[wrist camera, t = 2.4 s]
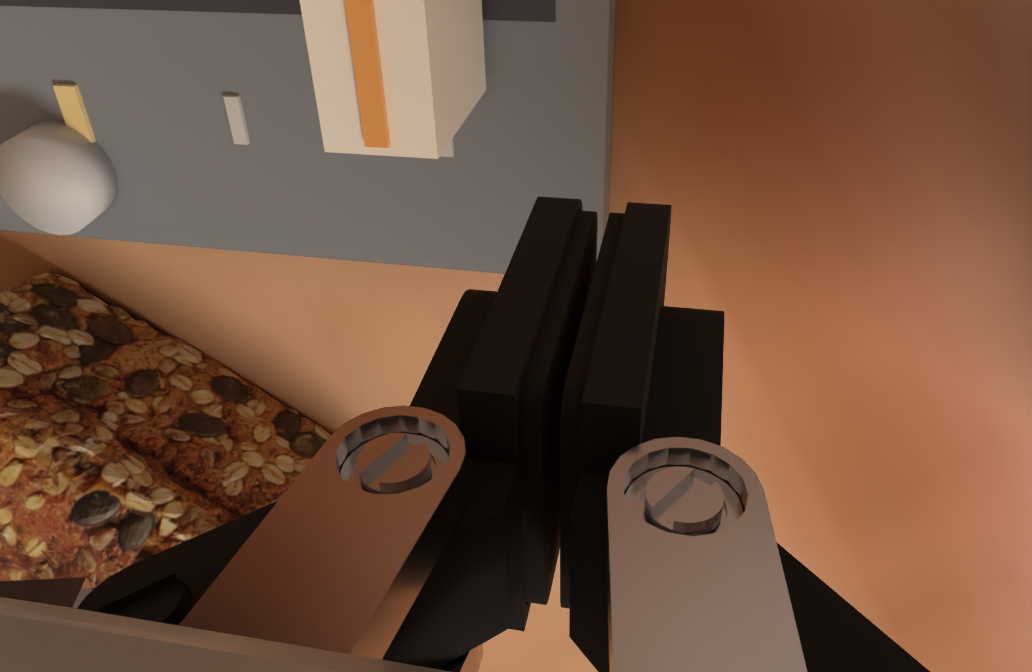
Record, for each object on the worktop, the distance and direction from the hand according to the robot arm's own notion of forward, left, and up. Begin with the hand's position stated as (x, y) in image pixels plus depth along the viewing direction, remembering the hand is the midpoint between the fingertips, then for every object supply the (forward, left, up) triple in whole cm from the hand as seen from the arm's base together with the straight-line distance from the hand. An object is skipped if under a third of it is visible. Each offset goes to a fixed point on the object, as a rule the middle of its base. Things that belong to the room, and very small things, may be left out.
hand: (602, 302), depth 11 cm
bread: (+20, +20, -17) cm, 33 cm away
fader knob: (+7, 0, -15) cm, 16 cm away
